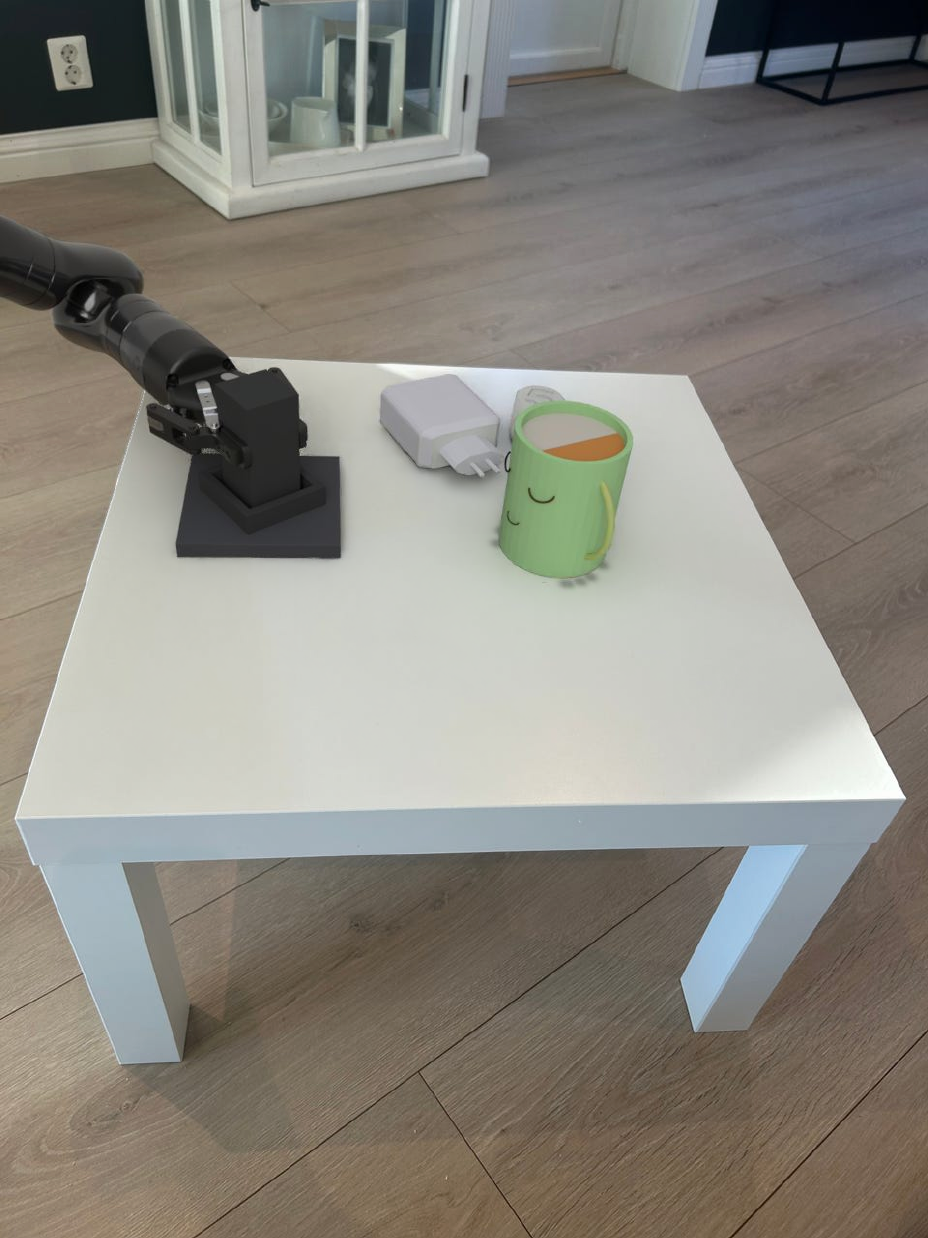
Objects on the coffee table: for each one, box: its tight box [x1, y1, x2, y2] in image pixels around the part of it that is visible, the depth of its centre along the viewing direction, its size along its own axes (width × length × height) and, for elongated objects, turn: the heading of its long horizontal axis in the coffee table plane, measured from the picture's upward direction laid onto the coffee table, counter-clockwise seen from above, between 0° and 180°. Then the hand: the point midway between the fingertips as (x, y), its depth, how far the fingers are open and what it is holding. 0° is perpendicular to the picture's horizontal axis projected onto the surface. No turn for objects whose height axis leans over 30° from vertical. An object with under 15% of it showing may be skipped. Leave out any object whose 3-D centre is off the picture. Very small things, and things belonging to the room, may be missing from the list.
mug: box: [498, 400, 634, 579], centre depth 85 cm, size 13×10×12 cm
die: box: [508, 385, 566, 441], centre depth 101 cm, size 5×5×5 cm
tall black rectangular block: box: [215, 368, 301, 509], centre depth 85 cm, size 5×5×11 cm
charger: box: [379, 373, 505, 478], centre depth 97 cm, size 5×9×15 cm
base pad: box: [175, 452, 342, 559], centre depth 88 cm, size 14×14×4 cm
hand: (275, 448), depth 83 cm, fingers closed on tall black rectangular block, 5 cm apart
